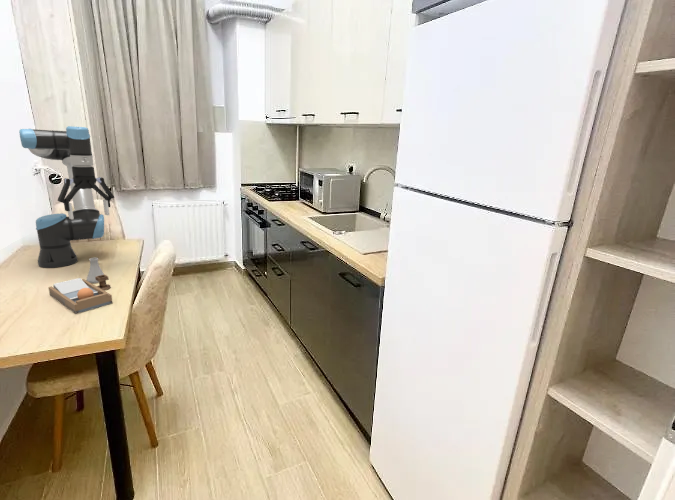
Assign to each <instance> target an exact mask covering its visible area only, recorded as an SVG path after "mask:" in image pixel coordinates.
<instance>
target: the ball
mask: <svg viewBox="0 0 675 500" xmlns="http://www.w3.org/2000/svg"><path fill="white" fill-rule="evenodd" d="M77 296H78V298H79V299H80V300H81V299H85V298H88V297H92V296H94V293H93V291H92V290H91V289H90V288H82V289H80V290H79V291H78V294H77Z"/></svg>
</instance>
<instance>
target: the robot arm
mask: <svg viewBox="0 0 675 500" xmlns="http://www.w3.org/2000/svg"><path fill="white" fill-rule="evenodd" d="M19 138H20V143H21V147H22V148H23V149H28V151H29V152H30V153H32V154H33V155H34V156H37V157H39V158H42V159H46V160H51V161H61V163H62V165H63V166H66V169H67V175H68V178H67V177H65V178H64V179H63V186H62V188H61V190H60V193H59V195H58V197H57V202H58V203H62V204H63V206H64V208H63V209H64V211H66V212H67V214H68V216H67V214H66V213H62V212H61V213H52V214H47V215H43V216H40V217H38V218H36V220H35V227H36V228H35V230H36V232H37V238H38V244H39V252H38V253H39V254H38V259H37V264H38V265H37V266H39V267H41V268H43V269H44V268H45V269H48V268H53V269H55V268H62V267H67V266H71V265H74V264H76V263H77V262H78V255H77V254H76V252H75V250H74V249H73V247H72V245H71V241H72V242H73V241H81V240H94V239H100V238H103V237H104V235H105V216H110V208H111V200H112V199H114V198H115V196H114V194H113V192H112V191H111V190H110V188H109V186H107V184H106V182H105V179H104V177H100V176H99V177H96V176H95V175H96V173H95V168H94V159H93V158H94V156H93V153H92V145H91V134H90V131H89V128H88V127H86V126H72V125H71V126H70V125H67V126H66V128H65V130H54V129H53V130H52V129H51V130H49V129H47V130H45V129H32V128H22V129H21V128H20V129H19ZM96 183H99V185H100V187H101V188H102V189H103V190H104V191H103V190H102V189H100V188H99V187H98V186H97V185H96ZM69 189H70V191H69ZM92 189H93V190H94V191H96V193H97V194H98V195H100V196H101V197H102V198H103V200H102V202H103V210H104V214H102V213H100V210H99V209H97V208H96V205H95V200H94V194H93V190H92ZM68 191H69V193H68ZM67 193H68V194H67ZM71 201H72V203H73V206H72V203H71ZM73 208H74V209H73Z"/></svg>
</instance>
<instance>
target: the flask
mask: <svg viewBox="0 0 675 500" xmlns="http://www.w3.org/2000/svg"><path fill="white" fill-rule="evenodd" d="M88 261H89V263H90V264H89V265H90V266H89V270H88V273H87V277H86V279H85V280H86V281H88V282H90V283H92V284H97V283H98V284H99V281H97V280H96V278H95V277H96V276H100V275H105V274H104V272H103V270H102V268H101V267H100V264H99V258H98V257H91V258H90V257H89V259H88Z"/></svg>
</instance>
